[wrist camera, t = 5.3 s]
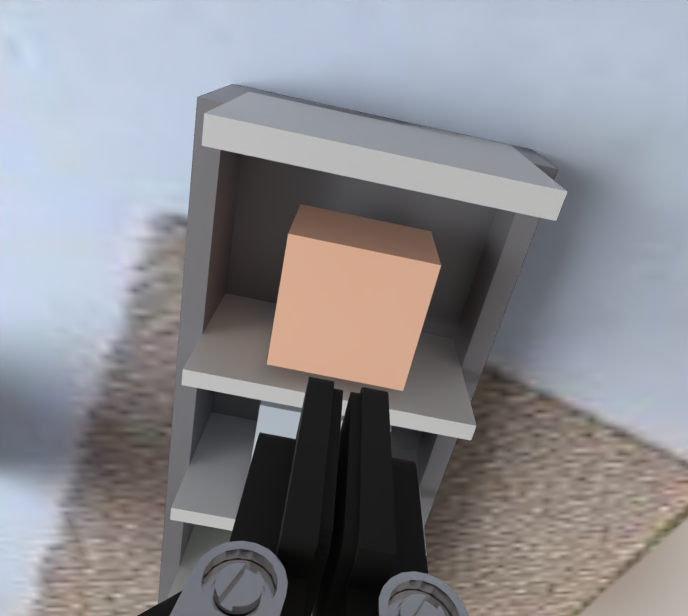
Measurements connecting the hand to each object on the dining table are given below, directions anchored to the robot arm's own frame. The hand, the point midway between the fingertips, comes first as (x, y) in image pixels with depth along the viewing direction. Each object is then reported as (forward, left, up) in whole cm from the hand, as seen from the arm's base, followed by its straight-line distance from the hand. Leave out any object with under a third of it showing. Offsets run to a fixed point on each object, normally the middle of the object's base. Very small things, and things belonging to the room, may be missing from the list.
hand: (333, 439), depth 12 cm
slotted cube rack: (+9, 0, -12) cm, 15 cm away
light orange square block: (0, 0, -9) cm, 9 cm away
